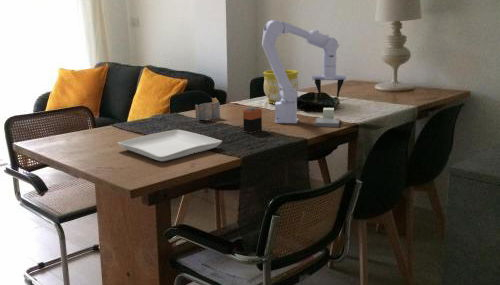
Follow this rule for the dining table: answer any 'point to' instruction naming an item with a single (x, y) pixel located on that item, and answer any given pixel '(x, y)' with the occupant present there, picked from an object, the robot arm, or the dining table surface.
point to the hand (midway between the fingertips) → (328, 96)
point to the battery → (252, 119)
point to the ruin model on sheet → (208, 110)
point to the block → (328, 113)
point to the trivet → (327, 122)
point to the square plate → (170, 144)
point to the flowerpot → (272, 84)
